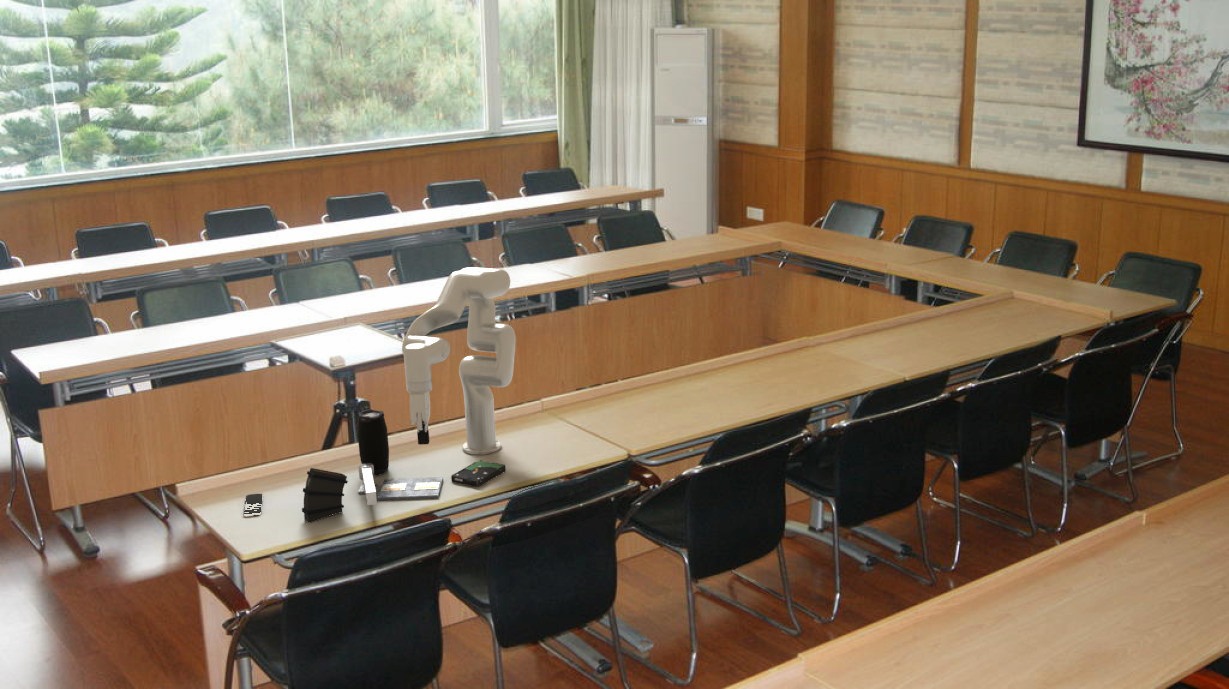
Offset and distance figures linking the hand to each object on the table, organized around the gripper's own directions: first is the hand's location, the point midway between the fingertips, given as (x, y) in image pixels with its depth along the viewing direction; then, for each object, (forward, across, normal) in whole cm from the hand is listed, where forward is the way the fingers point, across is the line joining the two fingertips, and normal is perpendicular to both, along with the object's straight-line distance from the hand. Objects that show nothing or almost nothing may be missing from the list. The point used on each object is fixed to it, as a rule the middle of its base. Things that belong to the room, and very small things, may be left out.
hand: (423, 443), depth 358 cm
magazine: (+15, +16, -27) cm, 35 cm away
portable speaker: (+15, -16, -18) cm, 28 cm away
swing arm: (+11, +8, -16) cm, 21 cm away
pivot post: (+15, -1, -18) cm, 23 cm away
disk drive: (+16, -9, +15) cm, 23 cm away
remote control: (+15, +8, -50) cm, 53 cm away
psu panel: (+15, 0, -5) cm, 16 cm away
